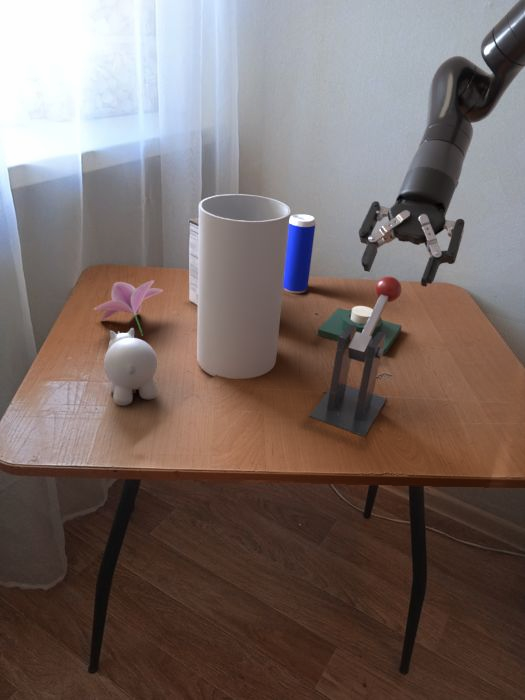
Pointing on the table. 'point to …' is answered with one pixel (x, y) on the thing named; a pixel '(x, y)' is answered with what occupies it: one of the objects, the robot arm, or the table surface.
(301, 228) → the beverage can
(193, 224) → the coffee box
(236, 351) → the cylinder vase
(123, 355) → the chubby cartoon animal
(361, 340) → the tap lever
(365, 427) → the grey lever stand
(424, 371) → the table surface
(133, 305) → the lily
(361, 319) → the button
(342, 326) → the button box
